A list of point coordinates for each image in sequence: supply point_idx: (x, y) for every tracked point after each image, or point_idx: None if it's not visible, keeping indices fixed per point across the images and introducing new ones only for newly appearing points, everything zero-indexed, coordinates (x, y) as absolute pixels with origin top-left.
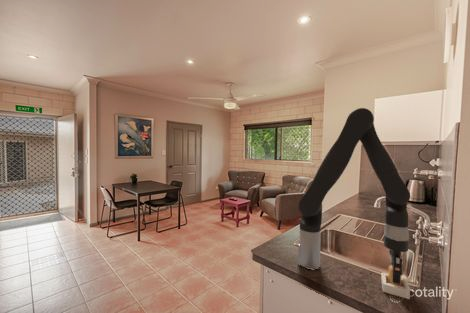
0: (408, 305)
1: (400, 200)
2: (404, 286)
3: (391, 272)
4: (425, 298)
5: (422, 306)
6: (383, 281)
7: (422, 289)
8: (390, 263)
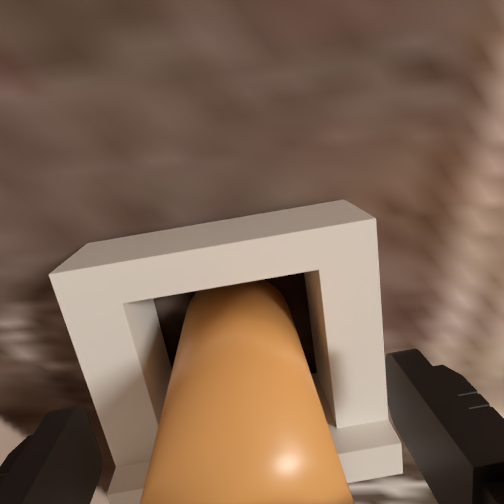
0: None
1: None
2: None
3: (159, 443)
4: None
5: None
6: (117, 272)
7: (391, 477)
8: (455, 442)
